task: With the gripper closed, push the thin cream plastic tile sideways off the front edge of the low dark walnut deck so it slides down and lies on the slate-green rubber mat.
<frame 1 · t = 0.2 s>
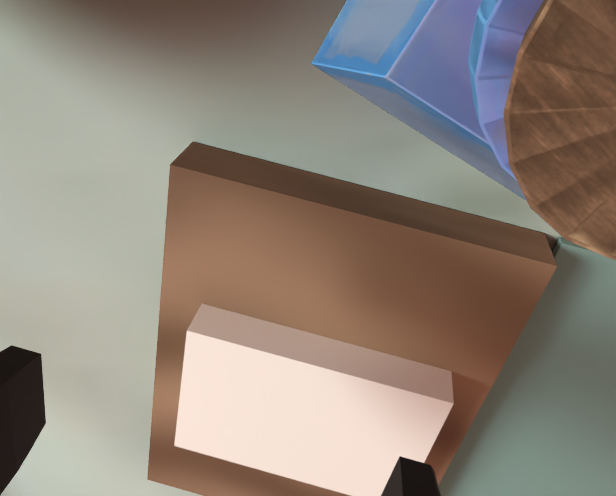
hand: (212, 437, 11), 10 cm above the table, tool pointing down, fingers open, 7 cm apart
mat: (600, 437, 22), on the table
deck: (316, 359, 23), on the table
tile: (308, 395, 21), point 2 cm above the table, touching deck
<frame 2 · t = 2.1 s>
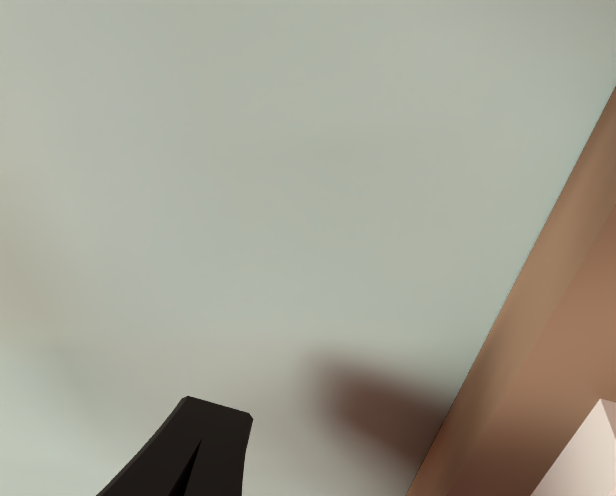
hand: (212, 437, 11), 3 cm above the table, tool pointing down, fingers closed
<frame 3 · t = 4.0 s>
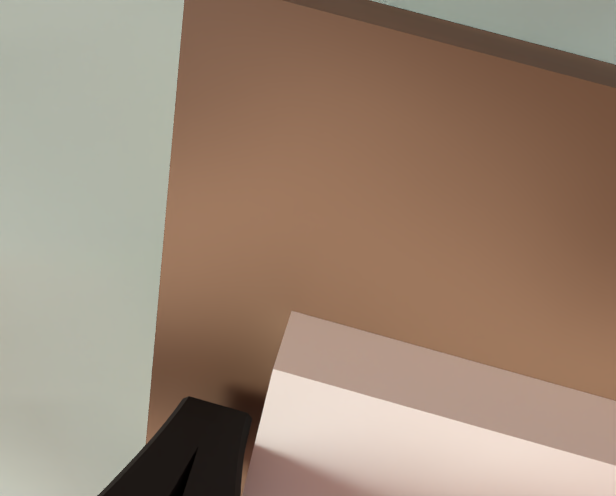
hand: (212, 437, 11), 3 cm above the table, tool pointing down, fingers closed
deck: (428, 398, 13), on the table
tile: (476, 481, 11), point 2 cm above the table, touching gripper
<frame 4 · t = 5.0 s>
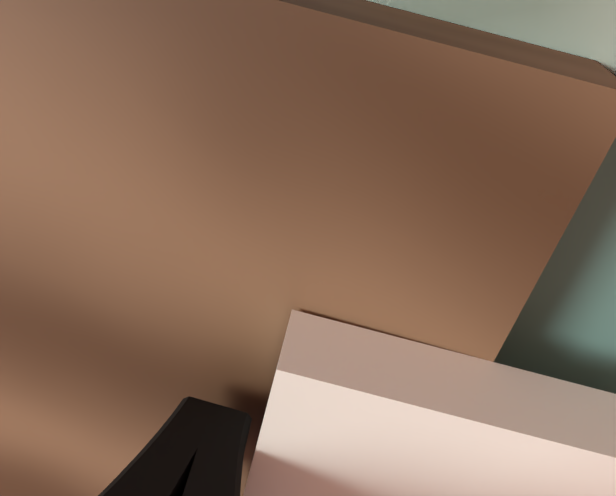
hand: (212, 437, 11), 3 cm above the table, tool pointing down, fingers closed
deck: (188, 330, 13), on the table
tile: (476, 477, 11), point 2 cm above the table, touching deck, gripper
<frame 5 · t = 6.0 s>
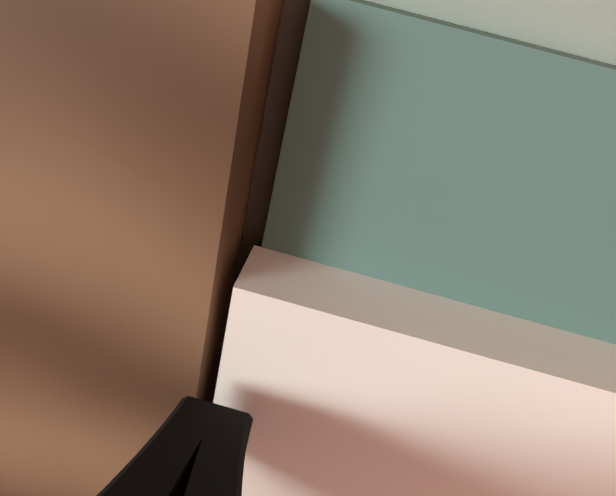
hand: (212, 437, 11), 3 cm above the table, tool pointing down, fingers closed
mat: (457, 407, 13), on the table
tile: (422, 405, 13), resting on mat
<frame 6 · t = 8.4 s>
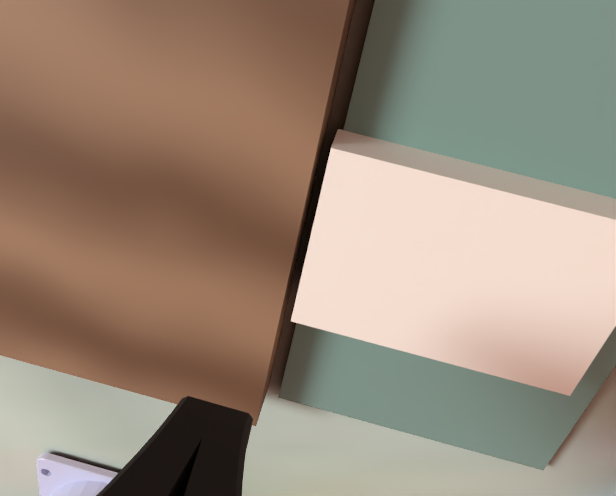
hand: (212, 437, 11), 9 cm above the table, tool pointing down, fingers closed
mat: (483, 259, 18), on the table
deck: (128, 167, 18), on the table
tile: (458, 255, 17), resting on mat
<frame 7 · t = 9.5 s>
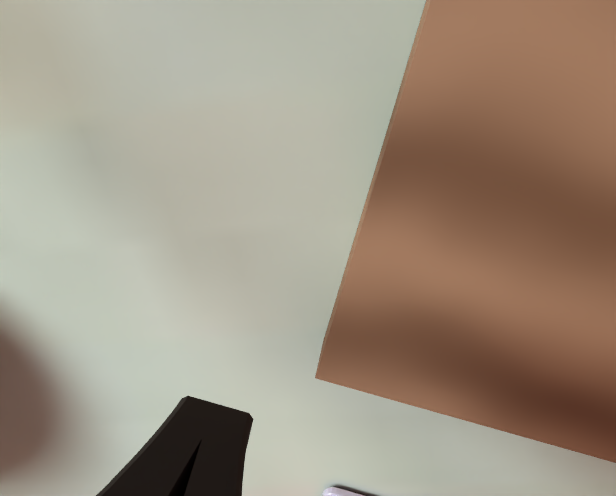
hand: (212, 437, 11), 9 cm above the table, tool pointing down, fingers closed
deck: (569, 203, 17), on the table
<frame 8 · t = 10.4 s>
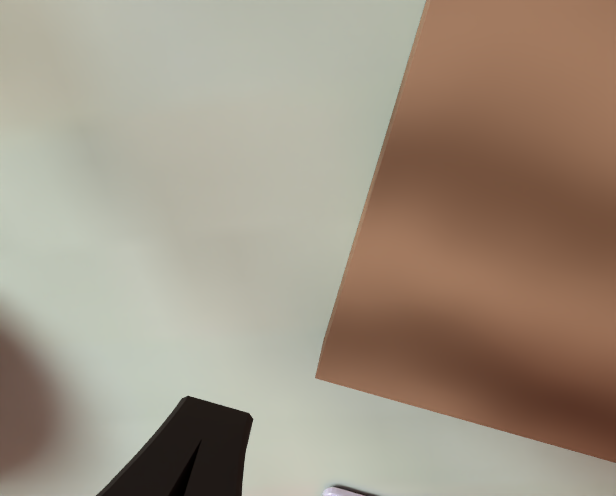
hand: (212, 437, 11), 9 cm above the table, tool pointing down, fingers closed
deck: (569, 203, 17), on the table
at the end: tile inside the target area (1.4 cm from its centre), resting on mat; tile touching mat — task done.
